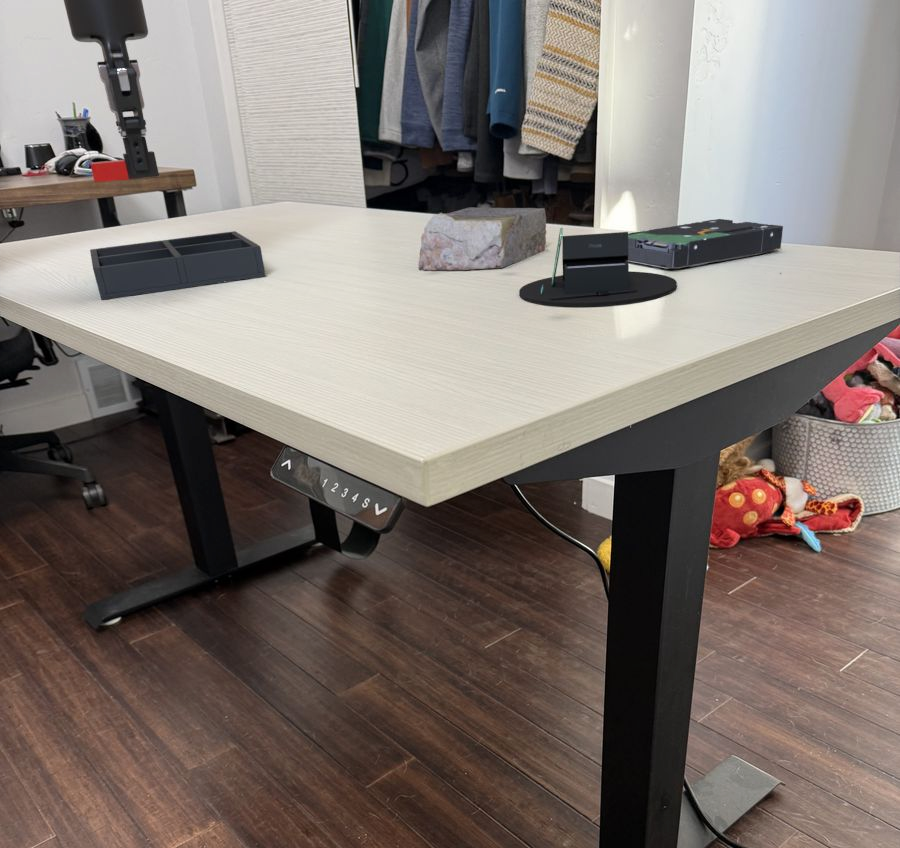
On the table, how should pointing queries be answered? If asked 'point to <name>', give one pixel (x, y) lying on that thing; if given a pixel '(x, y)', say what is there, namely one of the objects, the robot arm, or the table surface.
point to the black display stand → (596, 275)
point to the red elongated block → (119, 169)
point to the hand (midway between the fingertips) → (141, 174)
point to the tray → (175, 264)
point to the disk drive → (702, 243)
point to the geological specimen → (482, 238)
